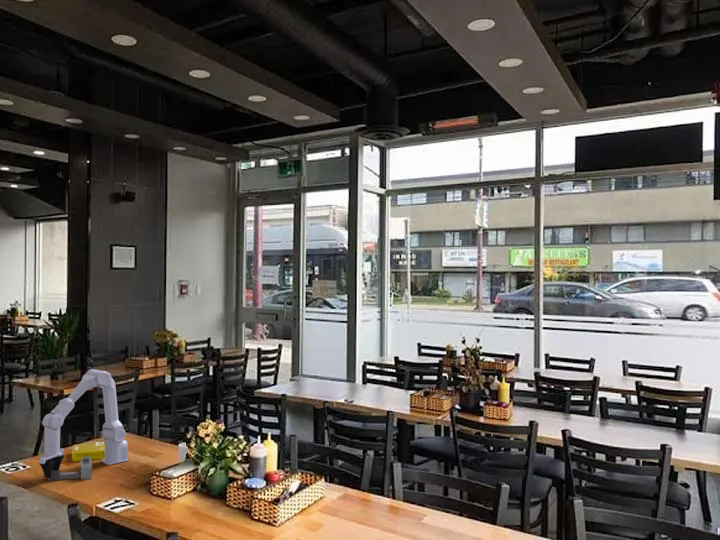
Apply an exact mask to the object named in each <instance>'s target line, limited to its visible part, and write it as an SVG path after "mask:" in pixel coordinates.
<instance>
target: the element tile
mask: <svg viewBox="0 0 720 540" xmlns="http://www.w3.org/2000/svg"><path fill="white" fill-rule="evenodd" d="M83 456H89V458H91V461H95V460H104V459H105V442H104V441H98V442H97V441H96V442H90V443H89V442H88V443H80V444H73V445H72V447H71V462H74V463H75V462H81V459H83Z"/></svg>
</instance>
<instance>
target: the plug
mask: <svg viewBox="0 0 720 540" xmlns="http://www.w3.org/2000/svg"><path fill="white" fill-rule="evenodd" d="M79 476H80V471H68V472H62V469H59V470H52V474H51V478H47V481H48V482H53V481H59V480H60V481H61V480H74V479H78V478H79Z"/></svg>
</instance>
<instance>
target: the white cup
mask: <svg viewBox="0 0 720 540" xmlns="http://www.w3.org/2000/svg"><path fill="white" fill-rule="evenodd" d="M177 447H178V448H177V449H178V450H177V452H178V453H177V454H178V464H179V463H180V462H183V461H184V460H185V458H186V454H187V453H188V447H187V446H186V442H181V443H179V444H178V446H177Z"/></svg>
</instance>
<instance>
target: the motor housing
mask: <svg viewBox="0 0 720 540" xmlns="http://www.w3.org/2000/svg"><path fill="white" fill-rule="evenodd" d="M79 474H80V480H82V481H84V480H91V479H92V478H93V477H92V476H93V465H92V460H91V458H89V456H83V459H81V461H80V471H79Z"/></svg>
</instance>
